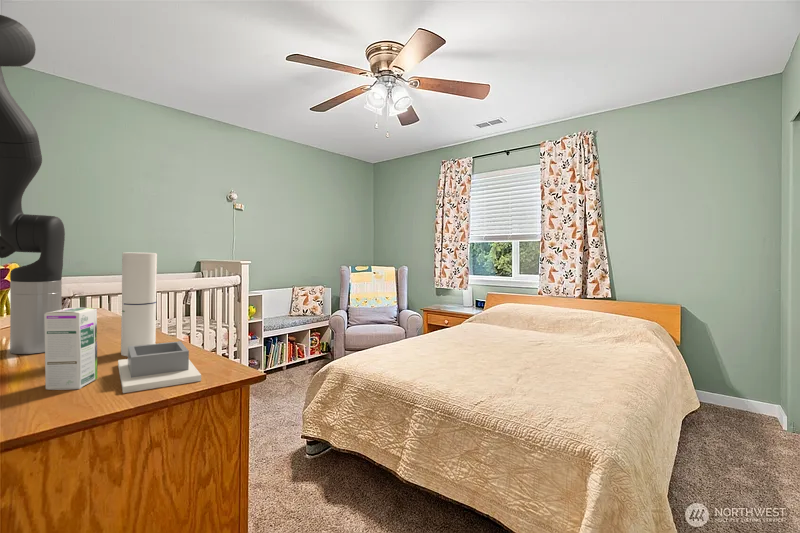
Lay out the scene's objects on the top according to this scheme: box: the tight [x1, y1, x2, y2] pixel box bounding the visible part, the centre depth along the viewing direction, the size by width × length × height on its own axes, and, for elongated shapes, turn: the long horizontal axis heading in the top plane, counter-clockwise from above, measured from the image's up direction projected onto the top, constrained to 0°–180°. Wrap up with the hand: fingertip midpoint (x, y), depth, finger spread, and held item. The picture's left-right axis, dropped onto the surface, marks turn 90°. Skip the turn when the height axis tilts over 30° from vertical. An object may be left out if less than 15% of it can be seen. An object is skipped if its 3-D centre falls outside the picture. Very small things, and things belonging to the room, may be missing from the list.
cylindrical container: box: [120, 251, 158, 357], centre depth 97 cm, size 7×7×25 cm
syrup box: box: [44, 306, 98, 391], centre depth 74 cm, size 6×6×14 cm
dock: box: [117, 340, 202, 394], centre depth 83 cm, size 20×13×5 cm, turn 38°
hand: (9, 255), depth 68 cm, fingers open, 8 cm apart
